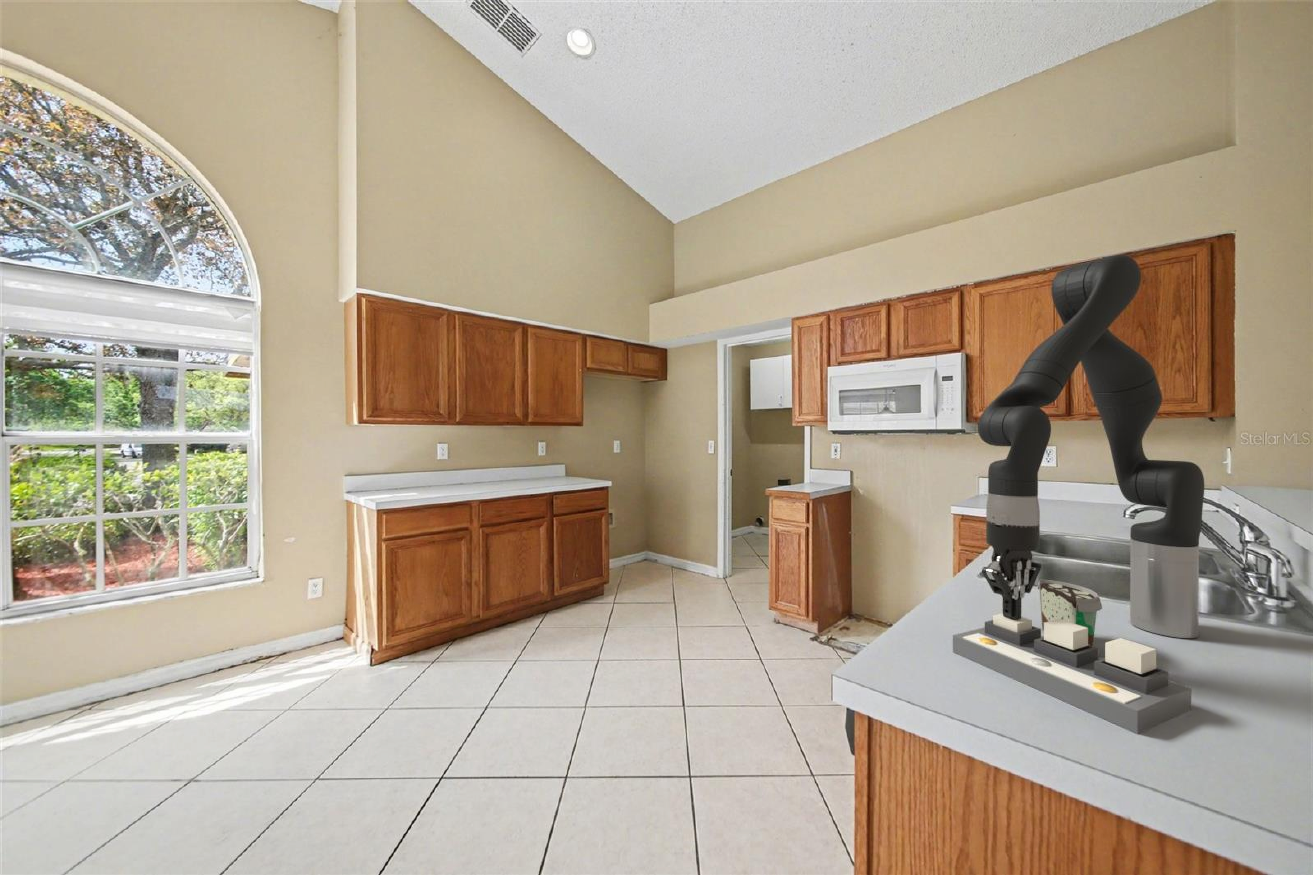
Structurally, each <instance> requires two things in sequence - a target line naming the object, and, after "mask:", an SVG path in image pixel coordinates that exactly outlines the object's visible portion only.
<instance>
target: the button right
mask: <svg viewBox="0 0 1313 875" xmlns="http://www.w3.org/2000/svg"><path fill="white" fill-rule="evenodd" d="M1104 647H1105V651H1104V652H1105V654H1104V656H1105V657H1104V658H1105V662H1108V663H1111V664H1114V665H1116V666H1119V667H1122V668H1125V669H1128V670H1131V671H1133V672H1136V673H1139V674H1143V673H1146V672H1148V671H1151V670H1154V669H1156V668H1157V648H1154V647H1152V646H1147V645H1144V644H1141V643H1138V642H1134V641H1131V640H1128V639H1124V638H1121V637H1120V638H1116V639H1112V640H1110V641H1106V642H1105V644H1104Z"/></svg>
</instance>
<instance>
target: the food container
mask: <svg viewBox="0 0 1313 875" xmlns="http://www.w3.org/2000/svg"><path fill="white" fill-rule="evenodd" d="M1037 590H1039V602H1040V603H1039V606H1040V618H1041V619H1040V621H1041V633H1043V632H1044V623H1045V622H1049V621H1052V620H1056V619H1061V620H1064V621H1067V622H1070V623H1074V624H1077V625H1080V626H1083V627H1086V628H1088V645H1090V646H1093V645H1094V639H1095V638H1094V637H1095V631H1096V630H1095V629H1096V623H1097V622H1096V620H1097V614H1098V612H1099V611H1101V610H1103V605H1102V601H1101V598H1100V596H1099V594H1098V593H1097V592H1095V591H1094V590H1092V589H1091V588H1087V587H1085V586H1081V585H1078V584H1073V583H1069V582H1066V581H1065V582H1064V581H1058V580H1052V579H1051V580H1050V579H1038V582H1037ZM1093 647H1094V646H1093Z"/></svg>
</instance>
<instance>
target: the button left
mask: <svg viewBox="0 0 1313 875" xmlns="http://www.w3.org/2000/svg"><path fill="white" fill-rule="evenodd" d="M992 620H993V624H995V625H998V626H1001V627H1003V628H1006V629H1009V630H1012V631H1015V632H1017V633H1020V632H1024V631H1027V630H1031V629H1032V626H1033V619H1030V618H1026V617H1024V616H1021V619H1018V620H1012V619H1009V618H1006V617H1004V616H1003V612H1002V613H998V614H993V616H992Z"/></svg>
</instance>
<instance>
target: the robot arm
mask: <svg viewBox="0 0 1313 875" xmlns="http://www.w3.org/2000/svg"><path fill="white" fill-rule="evenodd" d="M1141 282H1142V271H1141V268H1140V265H1139V264H1138V262H1137V261H1136V260H1135V259H1134V258H1132V256H1129V255H1126V254H1117V255H1115V254H1114V255H1110V256H1106V257H1102V258H1098V259H1095V260H1090V261H1087V262H1084V263H1080V264H1076V265H1072V266H1069V267H1066V268H1064V269H1061V270H1060V271H1058V272H1057V273H1056V275H1055V276H1054V277H1053V279H1052V282H1051V286H1050V287H1051V288H1050V290H1051V298H1052V302H1053V304H1054V308H1055V309H1056V312H1057V314H1058V316H1059V318H1060V320H1061V322H1062V325H1063V326H1061V327H1060V328H1059V329H1058V330H1056V331H1054V332H1053V333H1052V334H1051V335H1049V337H1047V338H1046V339H1044V341H1042V342H1041V343H1040V344H1039V345H1038V346H1036V348H1035V349H1033V351H1032V352H1031V353H1030V354H1029V355H1028V357H1027V358H1026V360H1025V361H1024V362H1023V364H1022V365H1021V368H1020V370H1019V371H1018V373H1017V374H1016V376H1015V378H1014V379H1013V381H1012V382H1011V384H1010V385H1009V386H1008V387H1006V388H1005V389H1004V390H1003V391H1001V393H1000V394H999V395H998V396H996V397H995V398H994V400H992V401H991V402H990V404H989V405H988V406H986V408H985V409H984V410H983V412H982V414H981V415H980V417H979V419H978V424H977V432H978V435H979V437H980V439H981V440H982V441H983V442H984V443H985V444H987V445H990V446H993V447H1010V448H1009V451H1008V454H1007V456H1006V457H1005V459H1001V460H995V461H993V462H991V463H990V464H989V466H988V471H987V472H988V474H987V477H988V478H987V479H988V480H987V484H988V487H987V489H988V490H987V492H988V493H987V499H986V500H987V501H986V512H985V514H986V516H985V518H986V519H985V525H986V526H985V528H986V530H985V534H986V535H985V537H986V538H985V542H986V544H988V545H989V546H991V547H992V549H993V550H992V555H991V562H992V563H991V564H990V566H989V567H987V566H982V568H981V573H982V574H983V576H984V578H985V580H986V581H987V584H988V585H989V587H990V589H991V590H992V592H993V593H994V594H996V595H1000V596H1001V597H1002V613H1003V616H1004V617H1006V618H1009V619H1012V620H1018V619H1021V617H1022V599H1024V597H1025V595H1026V594H1030V593H1031V592H1032V590H1033V587H1034V585H1035V582H1036V580H1037V579H1038V576H1039V574H1040V571H1041V569H1042V564H1041V563H1038V562H1034V560H1033V553H1032V552H1034V551H1038V550H1039V549H1040V541H1041V540H1040V537H1041V536H1040V534H1041V533H1040V531H1041V529H1040V528H1041V527H1040V526H1041V525H1040V524H1041V523H1040V521H1041V519H1040V518H1041V516H1040V512H1041V511H1040V510H1041V509H1040V504H1039V474H1038V473H1039V472H1040V468H1041V465H1042V462H1043V458H1044V457H1045V453H1046V451H1047V447H1048V445H1049V441H1050V438H1051V433H1052V424H1051V420H1050V418H1049V416H1048V414H1047V412H1046V411H1044V410H1043V409H1042V408H1044V407H1046V406H1049V405H1052V404H1053V403H1054V402H1055V401H1056V400H1057V399H1058V397H1059V396H1060V395H1061V393H1062V391H1063V390H1064V388H1065V387H1066V385H1067V383H1068V382H1069V379H1070V378H1071V376H1072V374H1073V373H1074V371H1075V370H1076V368H1077V366H1078V365H1079V364H1080V363H1081V366H1082V370H1083V371H1084V375H1085V376H1086V380H1087V384H1088V388H1089V390H1090V394H1091V396H1092V399H1093V402H1094V404H1095V408H1096V409H1097V412H1098V414H1099V418H1100V419H1101V423H1102V425H1103V428H1104V431H1105V435H1106V437H1107V440H1108V445H1109V447H1110V448H1109V449H1110V452H1111V457H1112V463H1113V467H1114V472H1115V476H1116V479H1117V480H1116V481H1117V484H1118V487H1119V489H1120V492H1121V495H1122V496H1123V497H1124V498H1125V500H1126V501H1128V502H1130V503H1132V504H1136V505H1141V506H1147V507H1148V506H1149V507H1157V508H1158V507H1159V508H1165V513H1164V516H1163V517H1161V518H1160V519H1156V520H1152V521H1146V522H1144V521H1143V522H1137V523H1134V524H1132V525H1131V526H1130V538H1129V539H1130V547H1129V548H1130V550H1129V551H1130V554H1129V556H1130V558H1129V559H1130V569H1129V571H1130V574H1129V575H1130V580H1129V581H1130V586H1129V587H1130V588H1129V591H1130V592H1129V594H1130V600H1129V601H1130V603H1129V604H1130V605H1129V609H1130V610H1129V614H1130V615H1129V616H1130V617H1129V622H1130V624H1131V625H1133V626H1134V627H1137V628H1138V629H1141V630H1144V631H1147V632H1150V633H1153V634H1156V635H1161V636H1166V637H1170V638H1171V637H1173V638H1180V639H1195V638H1198V636H1199V620H1200V619H1199V616H1200V614H1199V612H1200V610H1199V605H1200V604H1199V598H1200V596H1199V594H1200V592H1199V590H1200V588H1199V587H1200V585H1199V584H1200V583H1199V580H1200V579H1199V578H1200V575H1199V574H1200V567H1199V566H1200V561H1199V557H1200V556H1199V554H1200V552H1199V551H1200V550H1199V549H1200V535H1201V531H1202V526H1203V524H1202V523H1203V508H1204V497H1205V478H1204V473H1203V471H1202V469H1201V467H1200V466H1199V465H1197V464H1196V463H1194V462H1192V461H1187V460H1186V461H1184V460H1182V461H1181V460H1166V459H1165V460H1164V459H1162V460H1161V459H1148V458H1147V457H1146V455H1145V452H1144V451H1145V450H1144V446H1143V438H1144V436H1145V435H1146V432H1147V431H1148V428H1149V426H1150V425H1151V424H1152V422H1153V420H1154V419H1155V417H1156V415H1157V414H1158V412H1159V410H1160V409H1161V406H1162V402H1163V394H1162V389H1161V387H1160V384H1159V381H1158V378H1157V375H1156V372H1155V369H1154V367H1153V365H1152V364H1151V363H1150V362H1149V360H1147V359H1146V358H1145V357H1144V356H1143V355H1142V354H1140V353H1139V351H1136V350H1135V349H1134V348H1132V347H1131V346H1130V345H1128V344H1127V343H1125V342H1124V341H1123V340H1121V339H1120V338H1118V336H1116V335H1115V334H1113V332H1112V331H1111V330H1110V329H1109V327H1111V325H1112V324H1113V323H1114V322H1115V320H1117V318H1119V316H1120V315H1121V314H1122V313H1123V311H1124V310H1126V308H1127V307H1128V306H1129V304H1130V303H1132V301H1133V299H1134V298H1135V297H1136V295H1137V294H1138V291H1139V289H1140V286H1141Z"/></svg>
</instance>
